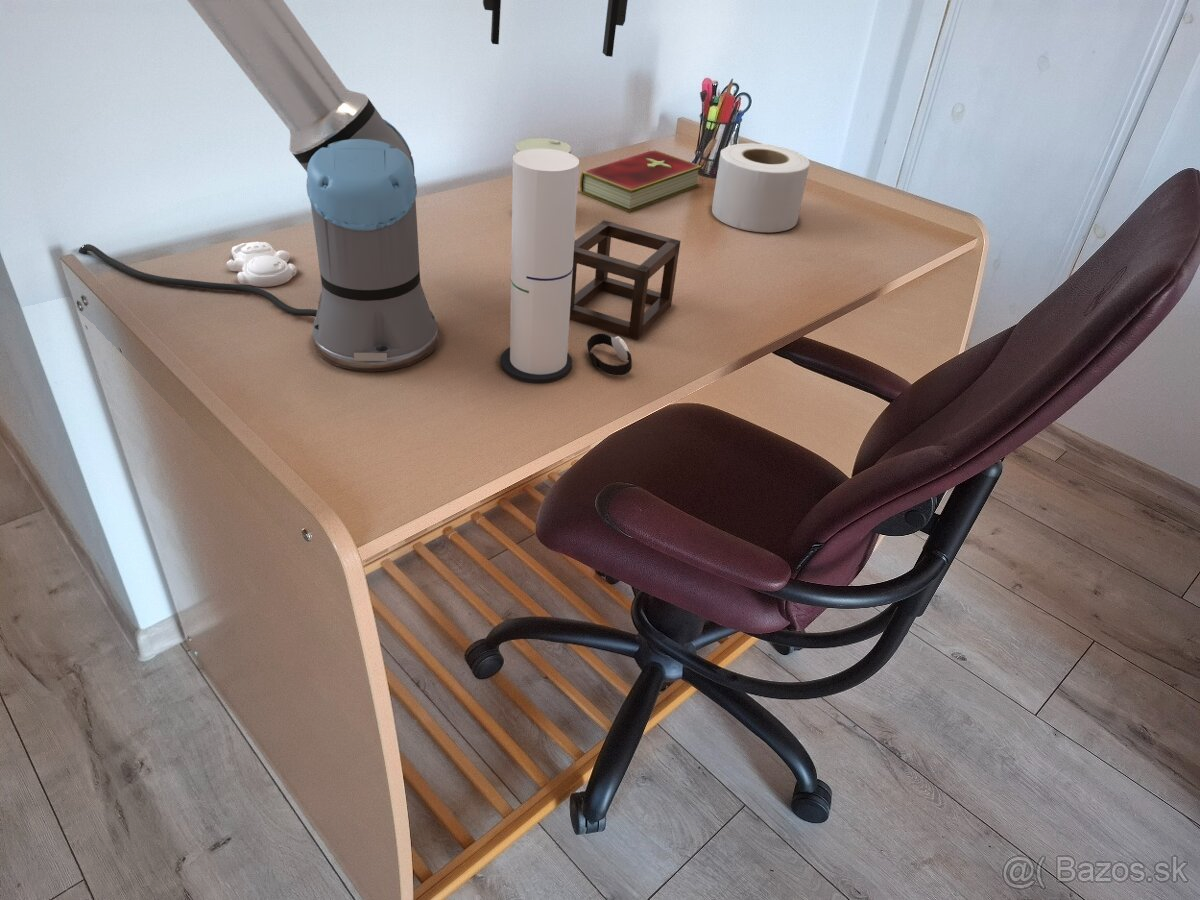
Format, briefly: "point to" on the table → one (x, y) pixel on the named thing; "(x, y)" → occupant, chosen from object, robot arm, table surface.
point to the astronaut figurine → (261, 264)
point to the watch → (619, 348)
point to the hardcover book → (639, 180)
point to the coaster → (532, 378)
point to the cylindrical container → (542, 258)
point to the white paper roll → (759, 187)
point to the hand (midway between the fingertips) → (551, 49)
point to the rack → (639, 273)
